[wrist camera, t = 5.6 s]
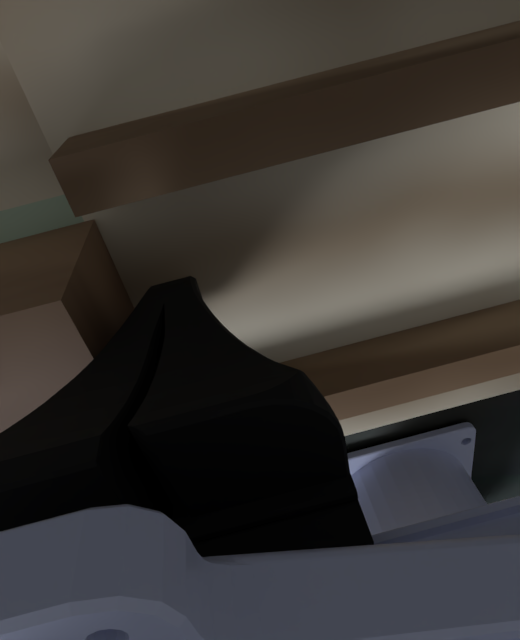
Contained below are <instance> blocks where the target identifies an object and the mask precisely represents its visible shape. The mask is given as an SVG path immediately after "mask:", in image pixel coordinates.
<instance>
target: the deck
mask: <svg viewBox="0 0 520 640" xmlns="http://www.w3.org/2000/svg"><path fill="white" fill-rule="evenodd" d="M93 219H94V220H95V222H96V224H97V227H98V229H99V231H100V233H101V235H102V238H103V240H104V242H105V244H106V247H107V249H108V251H109V253H110V255H111V258H112V260H113V262H114V264H115V267H116V269H117V271H118V273H119V275H120V278H121V280H122V282H123V284H124V287H125V289H126V291H127V293H128V295H129V298H130V300H131V302H132V304H133V307H134V309H135V307H136V306H137V304H138V303H139V301H140V300H141V299H142V297H143V296H144V294H145V293H146V292H147V290H148V289H149V288H150V287H151V286H154V285H157V284H161V283H165V282H169V281H173V280H177V279H180V278H184V277H188V276H192V277H194V278H196V280H197V283H198V286H199V289H200V292H201V295H202V298H203V301H204V302H205V303H206V305H207V306H208V308H209V309H210V311H211V312H212V313H213V314H214V316H215V317H216V318H217V319H218V320H219V321H220V322H221V323H222V324H223V325H224V326H225V327H226V328H227V329H228V330H229V331H230V332H231V333H232V334H233V335H234V336H236V337H237V338H238V339H239V340H241V341H242V342H243V343H245V344H246V345H247V346H249V347H250V348H252V349H254V350H255V351H257V352H259V353H260V354H262V355H263V356H265V357H267V358H269V359H271V360H273V361H275V362H278V363H281V364H284V365H287V366H290V367H293V368H295V369H298V370H301V371H303V372H304V373H305V374H306V375H307V376H308V378H309V379H310V380H311V381H312V382H313V384H314V385H315V386H316V387H317V388H318V390H319V391H320V392H321V394H322V395H323V396H324V398H325V399H326V400H327V402H328V403H329V405H330V406H331V408H332V410H333V411H334V413H335V415H336V417H337V418H338V420H339V422H340V424H341V427H342V429H343V433H344V436H347V435H350V434H354V433H358V432H362V431H366V430H369V429H373V428H377V427H381V426H384V425H388V424H392V423H396V422H400V421H403V420H407V419H411V418H415V417H419V416H422V415H426V414H430V413H434V412H437V411H441V410H445V409H449V408H453V407H456V406H460V405H464V404H468V403H471V402H475V401H479V400H483V399H487V398H490V397H494V396H498V395H502V394H505V393H509V392H513V391H517V390H520V0H0V243H4V242H8V241H12V240H16V239H20V238H24V237H27V236H31V235H35V234H39V233H43V232H47V231H50V230H54V229H58V228H62V227H66V226H70V225H74V224H77V223H81V222H85V221H89V220H93Z"/></svg>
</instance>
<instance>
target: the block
mask: <svg viewBox="0 0 520 640" xmlns="http://www.w3.org/2000/svg"><path fill="white" fill-rule="evenodd" d="M133 310H134V307H133V304H132V302H131V300H130V298H129V295H128V293H127V291H126V289H125V287H124V284H123V282H122V280H121V278H120V275H119V273H118V271H117V269H116V267H115V264H114V262H113V260H112V258H111V255H110V253H109V251H108V249H107V247H106V244H105V242H104V240H103V238H102V235H101V233H100V231H99V229H98V227H97V224H96V222H95V220H94V219H93V220H89V221H85V222H81V223H77V224H74V225H70V226H66V227H62V228H58V229H54V230H50V231H47V232H43V233H39V234H35V235H31V236H27V237H24V238H20V239H16V240H12V241H8V242H4V243H0V433H1V432H3V431H4V430H6V429H7V428H9V427H10V426H12V425H13V424H15V423H16V422H18V421H19V420H21V419H22V418H24V417H25V416H27V415H28V414H30V413H31V412H32V411H34V410H35V409H36V408H38V407H39V406H41V405H42V404H43V403H45V402H46V401H47V400H48V399H49V398H51V397H52V396H53V395H54V394H56V393H57V392H58V391H59V390H60V389H62V388H63V387H64V386H65V385H66V384H68V383H69V382H70V381H71V380H72V379H74V378H75V377H76V376H77V375H78V374H79V373H80V372H81V371H82V370H83V369H84V368H85V367H86V366H87V365H88V364H89V363H90V362H91V361H92V360H93V359H94V358H95V357H96V356H97V355H98V354H99V353H100V352H101V351H102V349H103V348H104V347H105V346H106V345H107V343H108V342H109V341H110V340H111V339H112V337H113V336H114V335H115V334H116V332H117V331H118V330H119V329H120V328H121V326H122V325H123V324H124V322H125V321H126V320H127V318H128V317H129V315H130V314H131V313H132V311H133Z"/></svg>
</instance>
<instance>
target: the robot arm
mask: <svg viewBox="0 0 520 640" xmlns="http://www.w3.org/2000/svg"><path fill="white" fill-rule="evenodd" d="M475 437H476V429H475V428H474V426H473V425H472V424H471V423H469V422H464V423H460V424H456V425H452V426H448V427H444V428H441V429H437V430H433V431H429V432H426V433H422V434H418V435H414V436H411V437H407V438H403V439H399V440H395V441H392V442H388V443H384V444H380V445H377V446H373V447H369V448H365V449H361V450H358V451H354V452H350V453H347V449H346V442H345V436H344V433H343V429H342V427H341V424H340V422H339V420H338V418H337V417H336V415H335V413H334V411H333V410H332V408H331V406H330V405H329V403H328V402H327V400H326V399H325V398H324V396H323V395H322V394H321V392H320V391H319V390H318V388H317V387H316V386H315V385H314V384H313V382H312V381H311V380H310V379H309V378H308V376H307V375H306V374H305V373H304V372H303V371H301V370H298V369H295V368H293V367H290V366H287V365H284V364H281V363H278V362H275V361H273V360H271V359H269V358H267V357H265V356H263V355H262V354H260V353H259V352H257V351H255V350H254V349H252V348H250V347H249V346H247V345H246V344H245V343H243V342H242V341H241V340H239V339H238V338H237V337H236V336H234V335H233V334H232V333H231V332H230V331H229V330H228V329H227V328H226V327H225V326H224V325H223V324H222V323H221V322H220V321H219V320H218V319H217V318H216V317H215V316H214V314H213V313H212V312H211V311H210V309H209V308H208V306H207V305H206V303H205V302H204V301H203V298H202V295H201V292H200V289H199V286H198V283H197V280H196V278H194V277H192V276H188V277H184V278H180V279H177V280H173V281H169V282H165V283H161V284H157V285H154V286H151V287H150V288H149V289H148V290H147V292H146V293H145V294H144V296H143V297H142V299H141V300H140V301H139V303H138V304H137V306H136V307H135V309H134V310H133V311H132V313H131V314H130V315H129V317H128V318H127V320H126V321H125V322H124V324H123V325H122V326H121V328H120V329H119V330H118V331H117V332H116V334H115V335H114V336H113V337H112V339H111V340H110V341H109V342H108V343H107V345H106V346H105V347H104V348H103V349H102V351H101V352H100V353H99V354H98V355H97V356H96V357H95V358H94V359H93V360H92V361H91V362H90V363H89V364H88V365H87V366H86V367H85V368H84V369H83V370H82V371H81V372H80V373H79V374H78V375H77V376H76V377H75V378H74V379H72V380H71V381H70V382H69V383H68V384H66V385H65V386H64V387H63V388H62V389H60V390H59V391H58V392H57V393H56V394H54V395H53V396H52V397H51V398H49V399H48V400H47V401H46V402H45V403H43V404H42V405H41V406H39V407H38V408H36V409H35V410H34V411H32V412H31V413H30V414H28V415H27V416H25V417H24V418H22V419H21V420H19V421H18V422H16V423H15V424H13V425H12V426H10V427H9V428H7V429H6V430H4V431H3V432H1V433H0V640H520V496H517V497H513V498H509V499H506V500H502V501H498V502H494V503H491V504H487V503H486V501H485V500H484V498H483V497H482V495H481V494H480V492H479V490H478V489H477V487H476V486H475V484H474V483H473V481H472V479H471V475H472V465H473V456H474V447H475Z"/></svg>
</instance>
